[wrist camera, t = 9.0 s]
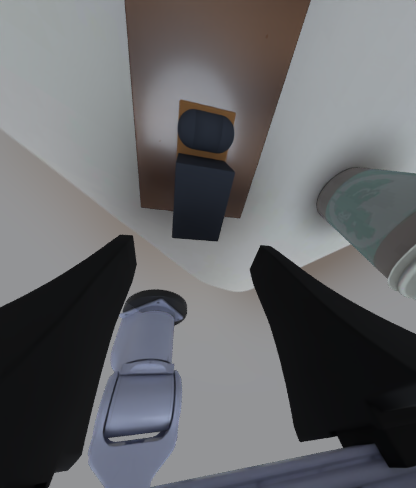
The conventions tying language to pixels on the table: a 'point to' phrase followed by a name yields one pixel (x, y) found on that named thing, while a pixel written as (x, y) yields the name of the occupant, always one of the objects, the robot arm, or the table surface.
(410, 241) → the coffee cup
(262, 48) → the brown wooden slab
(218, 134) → the cube on wooden base
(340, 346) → the robot arm
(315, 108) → the table surface
